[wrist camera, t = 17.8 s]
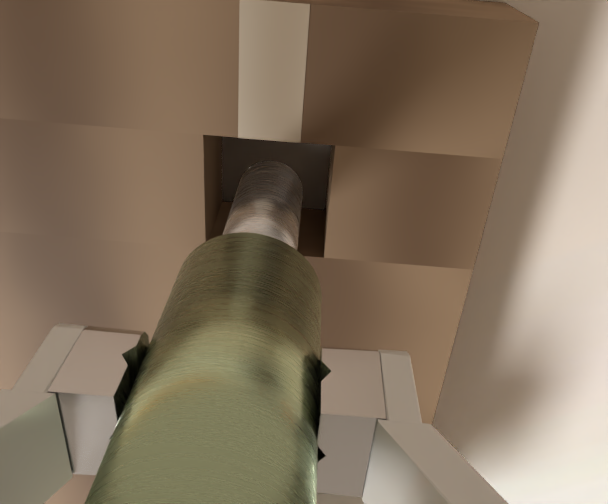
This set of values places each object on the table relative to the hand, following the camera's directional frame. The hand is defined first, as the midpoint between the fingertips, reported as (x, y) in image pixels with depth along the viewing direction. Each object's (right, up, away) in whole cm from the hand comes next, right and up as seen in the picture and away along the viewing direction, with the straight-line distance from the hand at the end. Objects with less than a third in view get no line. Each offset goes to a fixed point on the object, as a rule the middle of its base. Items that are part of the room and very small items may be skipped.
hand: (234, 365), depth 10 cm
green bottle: (0, +4, +6) cm, 7 cm away
